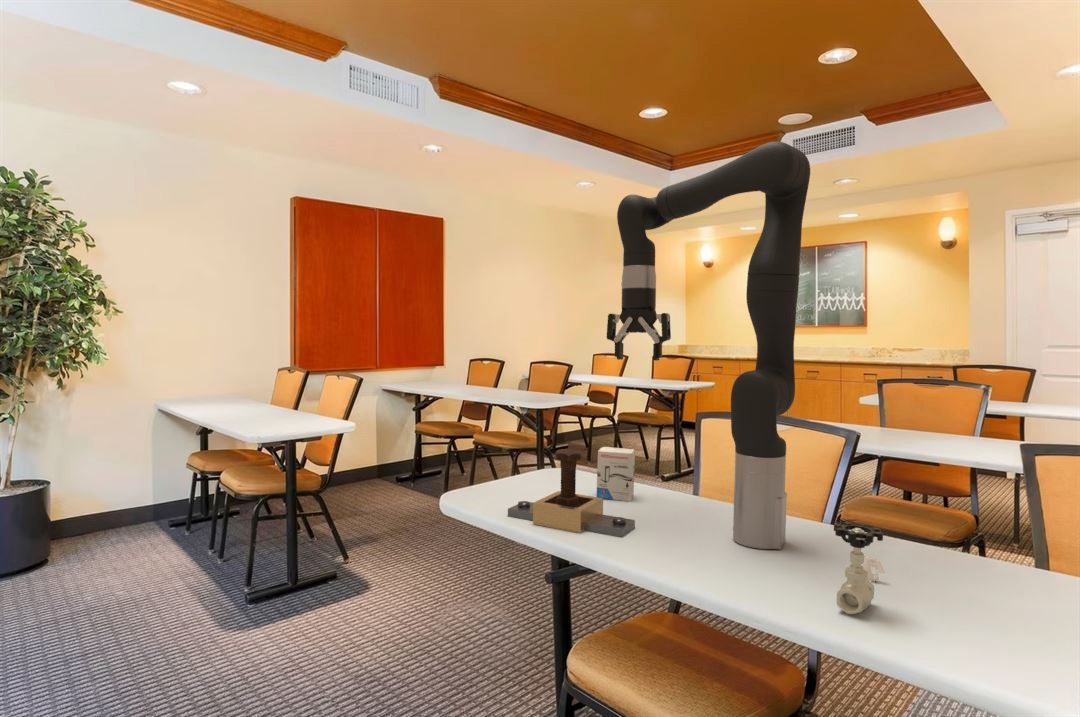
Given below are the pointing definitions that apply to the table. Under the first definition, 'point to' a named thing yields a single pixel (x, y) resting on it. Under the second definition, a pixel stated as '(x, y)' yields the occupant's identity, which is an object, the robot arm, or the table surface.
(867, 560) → the clip
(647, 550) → the table surface
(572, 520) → the square wooden frame
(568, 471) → the bolt
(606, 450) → the ink box
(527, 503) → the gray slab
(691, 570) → the table surface
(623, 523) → the gray knob plate
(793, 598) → the table surface
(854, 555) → the valve
